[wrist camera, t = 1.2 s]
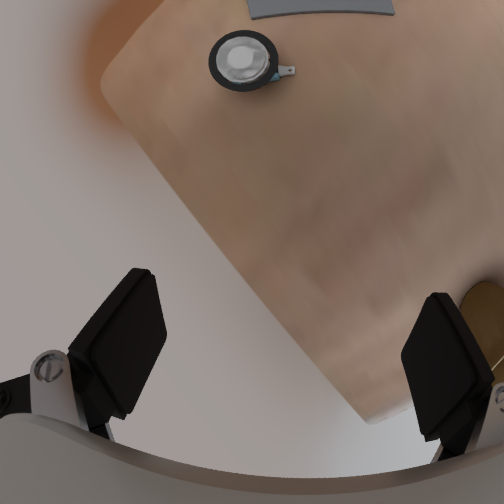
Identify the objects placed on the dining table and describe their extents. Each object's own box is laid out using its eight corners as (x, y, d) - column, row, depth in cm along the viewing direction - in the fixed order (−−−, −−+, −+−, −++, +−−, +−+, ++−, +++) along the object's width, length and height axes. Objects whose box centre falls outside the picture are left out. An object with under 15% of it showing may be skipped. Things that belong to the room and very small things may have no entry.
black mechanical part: (292, 50, 23) (292, 22, 14) (296, 95, 26) (299, 86, 17) (230, 55, 24) (202, 33, 16) (234, 100, 27) (208, 94, 18)
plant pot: (518, 280, 31) (563, 339, 17) (469, 340, 38) (499, 406, 24) (482, 243, 29) (544, 311, 15) (425, 318, 37) (458, 399, 23)
